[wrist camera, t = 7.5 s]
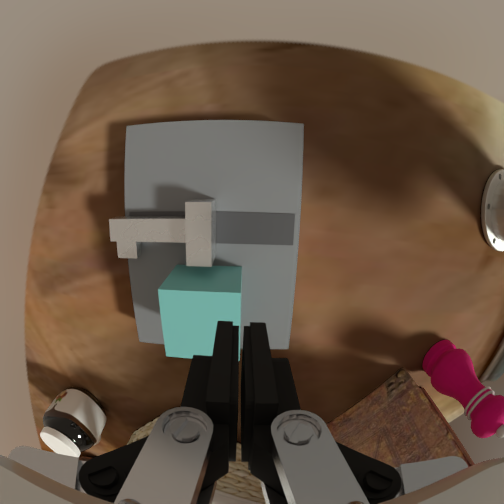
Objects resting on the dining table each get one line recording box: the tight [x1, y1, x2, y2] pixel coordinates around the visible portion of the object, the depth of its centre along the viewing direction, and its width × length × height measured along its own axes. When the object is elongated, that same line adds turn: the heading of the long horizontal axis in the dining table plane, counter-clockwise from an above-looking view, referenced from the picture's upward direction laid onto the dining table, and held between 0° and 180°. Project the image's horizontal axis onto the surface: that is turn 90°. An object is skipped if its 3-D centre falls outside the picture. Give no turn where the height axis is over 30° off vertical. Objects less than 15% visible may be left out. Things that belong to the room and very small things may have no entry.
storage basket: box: [127, 417, 266, 504], centre depth 31 cm, size 24×16×15 cm
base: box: [125, 120, 304, 349], centre depth 26 cm, size 16×22×4 cm
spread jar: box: [40, 387, 106, 457], centre depth 30 cm, size 12×11×12 cm
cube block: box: [158, 265, 242, 361], centre depth 23 cm, size 6×6×6 cm
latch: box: [109, 199, 216, 267], centre depth 22 cm, size 10×5×3 cm, turn 88°
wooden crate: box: [326, 368, 475, 468], centre depth 22 cm, size 25×9×30 cm, turn 135°
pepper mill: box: [422, 340, 504, 438], centre depth 24 cm, size 7×7×20 cm
